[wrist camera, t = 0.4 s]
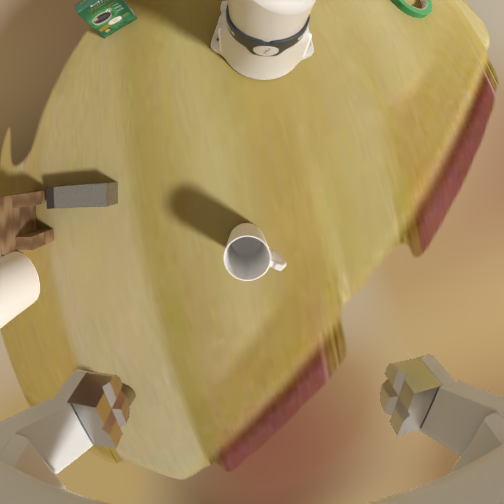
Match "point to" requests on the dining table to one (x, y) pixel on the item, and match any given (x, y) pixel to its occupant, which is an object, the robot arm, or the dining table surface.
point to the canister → (16, 285)
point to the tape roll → (414, 8)
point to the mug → (250, 253)
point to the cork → (128, 393)
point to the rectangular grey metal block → (82, 195)
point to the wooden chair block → (22, 222)
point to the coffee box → (105, 14)
